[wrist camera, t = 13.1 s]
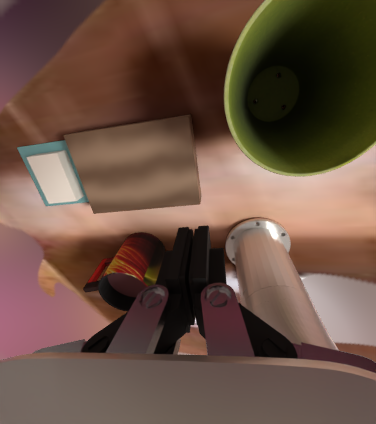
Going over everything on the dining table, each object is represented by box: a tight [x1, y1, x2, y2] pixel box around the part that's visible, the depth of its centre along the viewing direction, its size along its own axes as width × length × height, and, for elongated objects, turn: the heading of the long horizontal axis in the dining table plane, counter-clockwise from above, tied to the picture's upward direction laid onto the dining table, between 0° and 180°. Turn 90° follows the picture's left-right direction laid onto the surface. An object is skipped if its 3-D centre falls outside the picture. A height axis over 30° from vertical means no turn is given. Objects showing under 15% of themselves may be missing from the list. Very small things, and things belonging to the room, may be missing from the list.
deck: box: [63, 114, 201, 214], centre depth 37 cm, size 14×20×4 cm
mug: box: [83, 232, 166, 311], centre depth 43 cm, size 10×14×12 cm
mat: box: [17, 140, 89, 206], centre depth 41 cm, size 12×12×1 cm
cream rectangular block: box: [26, 150, 84, 204], centre depth 39 cm, size 9×6×2 cm, turn 8°
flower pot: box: [224, 0, 376, 176], centre depth 24 cm, size 15×15×16 cm
